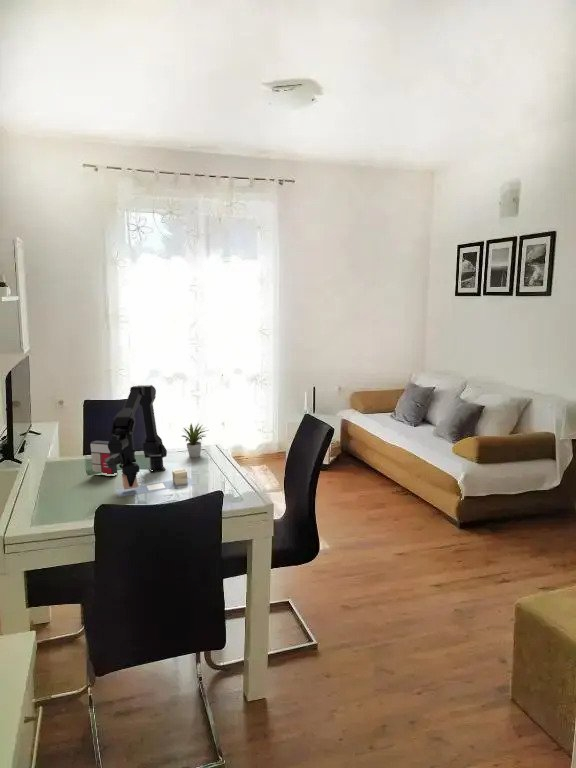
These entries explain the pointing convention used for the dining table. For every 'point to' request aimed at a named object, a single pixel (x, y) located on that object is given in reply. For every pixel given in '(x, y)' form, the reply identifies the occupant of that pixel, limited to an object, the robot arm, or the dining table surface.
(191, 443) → the house plant
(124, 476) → the terracotta block
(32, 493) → the dining table surface
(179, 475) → the beech block
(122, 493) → the baseplate
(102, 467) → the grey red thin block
